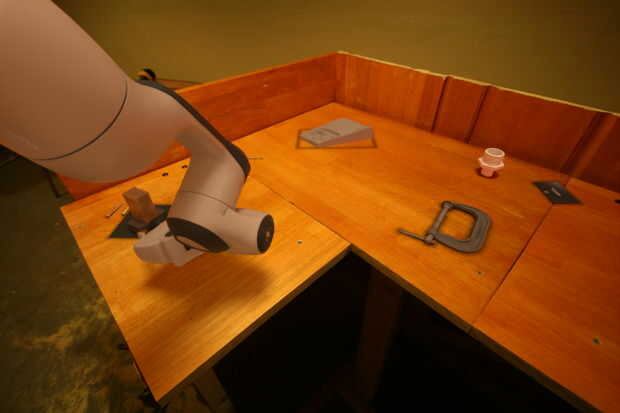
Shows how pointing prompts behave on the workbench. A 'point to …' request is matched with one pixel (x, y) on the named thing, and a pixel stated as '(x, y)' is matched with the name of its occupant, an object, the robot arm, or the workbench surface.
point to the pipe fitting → (491, 161)
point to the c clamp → (460, 245)
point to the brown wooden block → (143, 210)
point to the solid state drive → (556, 193)
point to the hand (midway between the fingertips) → (158, 221)
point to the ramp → (337, 133)
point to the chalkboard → (124, 230)
